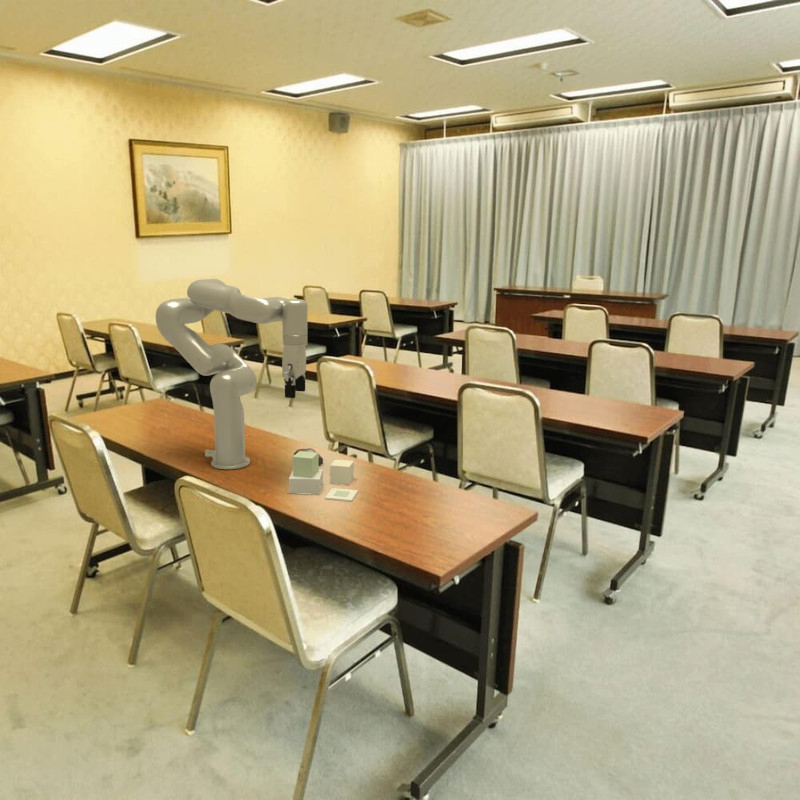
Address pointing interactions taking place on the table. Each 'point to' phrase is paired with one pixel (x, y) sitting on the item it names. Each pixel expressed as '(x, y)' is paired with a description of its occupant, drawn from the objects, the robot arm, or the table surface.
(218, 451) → the robot arm
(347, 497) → the card
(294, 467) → the sage cube
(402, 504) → the table surface
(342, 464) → the cream cube
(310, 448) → the walkie-talkie
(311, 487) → the base block
